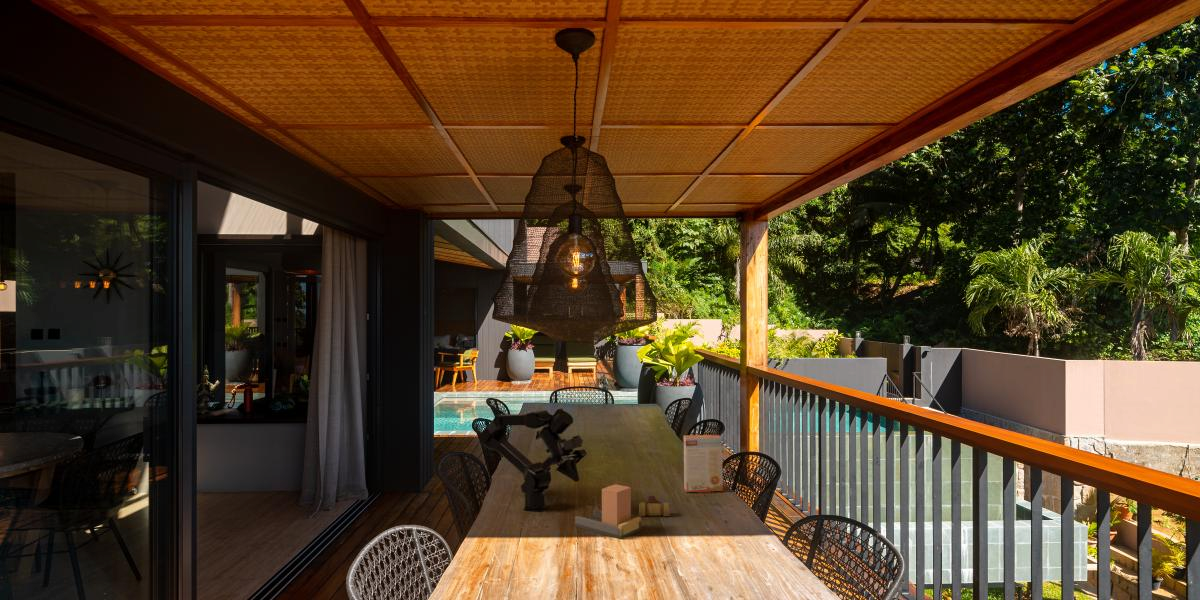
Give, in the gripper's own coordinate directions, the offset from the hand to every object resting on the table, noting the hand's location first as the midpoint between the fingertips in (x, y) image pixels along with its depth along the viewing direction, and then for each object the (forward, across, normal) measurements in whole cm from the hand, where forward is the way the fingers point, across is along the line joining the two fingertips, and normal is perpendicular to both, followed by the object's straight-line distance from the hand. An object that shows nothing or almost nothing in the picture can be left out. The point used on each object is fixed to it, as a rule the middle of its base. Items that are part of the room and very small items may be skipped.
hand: (577, 481), depth 213 cm
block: (+20, -2, -4) cm, 20 cm away
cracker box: (+21, +54, -8) cm, 59 cm away
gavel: (+18, +25, -3) cm, 31 cm away
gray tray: (+18, -1, -1) cm, 18 cm away
